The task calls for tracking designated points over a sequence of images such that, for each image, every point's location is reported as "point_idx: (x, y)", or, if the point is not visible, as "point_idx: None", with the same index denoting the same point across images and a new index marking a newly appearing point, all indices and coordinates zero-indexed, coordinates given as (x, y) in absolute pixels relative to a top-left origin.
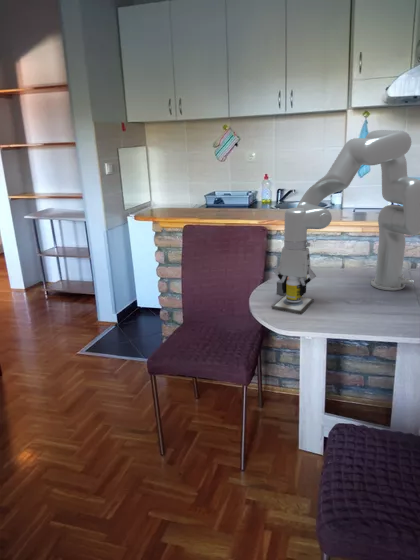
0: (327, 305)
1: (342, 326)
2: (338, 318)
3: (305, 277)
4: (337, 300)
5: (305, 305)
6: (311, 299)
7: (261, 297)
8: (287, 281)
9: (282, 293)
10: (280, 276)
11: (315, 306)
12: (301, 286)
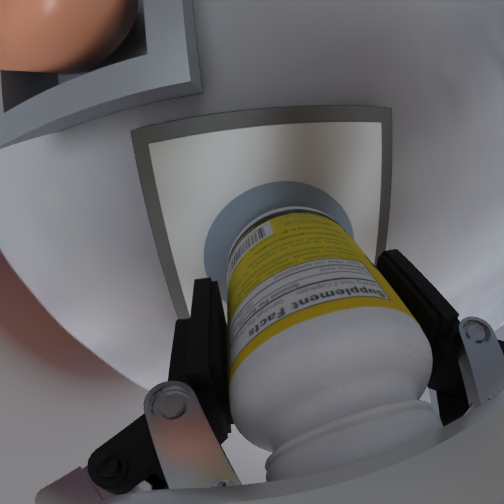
0: (457, 138)
1: (489, 307)
2: (490, 262)
3: (499, 389)
4: (471, 46)
5: (373, 253)
6: (380, 125)
7: (33, 247)
8: (271, 451)
9: (94, 117)
10: (157, 485)
11: (410, 185)
12: None
